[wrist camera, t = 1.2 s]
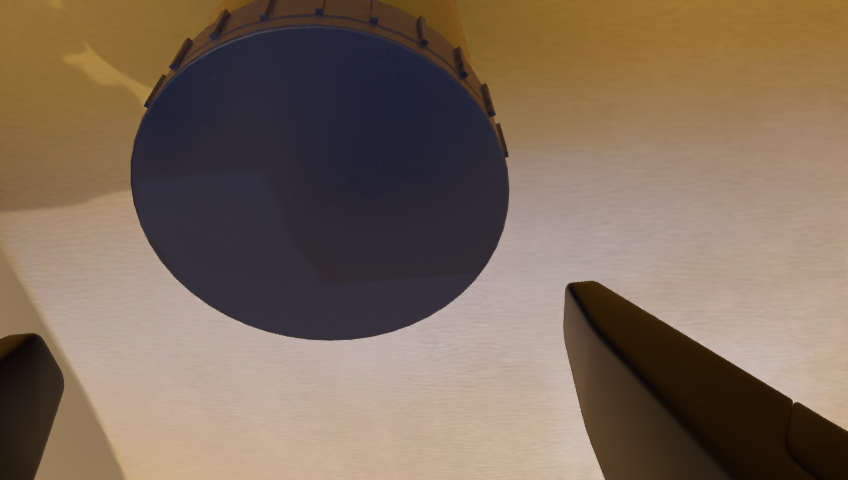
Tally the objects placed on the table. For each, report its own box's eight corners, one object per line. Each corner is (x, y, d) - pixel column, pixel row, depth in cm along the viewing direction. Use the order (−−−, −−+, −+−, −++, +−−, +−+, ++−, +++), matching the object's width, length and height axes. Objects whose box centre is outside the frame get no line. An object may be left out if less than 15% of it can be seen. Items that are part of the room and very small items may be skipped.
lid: (206, 301, 16) (189, 357, 14) (100, 5, 12) (63, 44, 10) (502, 274, 16) (513, 327, 14) (496, -33, 12) (511, 0, 10)
